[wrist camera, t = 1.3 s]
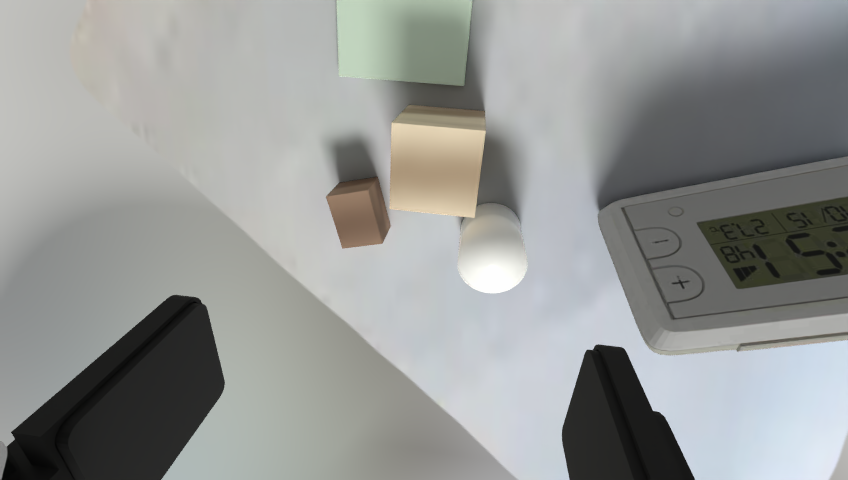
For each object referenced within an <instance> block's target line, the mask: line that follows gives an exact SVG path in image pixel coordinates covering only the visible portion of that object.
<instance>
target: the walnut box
mask: <svg viewBox="0 0 848 480" xmlns="http://www.w3.org/2000/svg"><path fill="white" fill-rule="evenodd" d="M326 198H327V201H328V204H329V207H330V211H331V214H332V217H333V220H334V223H335V226H336V229H337V233H338V236H339V239H340V242H341V245H342V248H351V247H359V246H367V245H375V244H382V243H383V241H384V239H385V237H386V235H387V233H388V231H389V229H390V222H389V218H388V214H387V210H386V207H385V203H384V199H383V195H382V191H381V187H380V183H379V179H378V177H373V178H366V179H360V180H354V181H348V182H341V183H339V184H338V185H337V186H336V187H335V188H334V189H333V190H332V191H331V192H330V193H329V194H328V195H327V196H326Z"/></svg>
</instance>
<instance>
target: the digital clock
mask: <svg viewBox="0 0 848 480" xmlns="http://www.w3.org/2000/svg"><path fill="white" fill-rule="evenodd" d="M598 223H599V227H600V230H601V232H602V235H603V238H604V240H605V243H606V245H607V248H608V251H609V253H610V256H611V259H612V261H613V264H614V266H615V269H616V272H617V274H618V277H619V280H620V282H621V285H622V287H623V290H624V293H625V295H626V298H627V300H628V303H629V306H630V308H631V311H632V314H633V316H634V319H635V321H636V324H637V326H638V329H639V331H640V333H641V336H642V338H643V339H644V341H645V343H646V345H647V346H648V347H649V349H650V350H652V351H653V352H654V353H657V354H660V355H683V354H694V353H704V352H714V351H724V350H737V352H739V351H748V350H758V349H767V348H777V347H786V346H796V345H805V344H814V343H824V342H833V341H843V340H848V156H847V157H841V158H835V159H829V160H824V161H818V162H813V163H807V164H802V165H797V166H792V167H786V168H781V169H776V170H771V171H766V172H760V173H755V174H750V175H745V176H739V177H734V178H729V179H724V180H718V181H713V182H708V183H703V184H697V185H692V186H687V187H682V188H677V189H671V190H666V191H661V192H656V193H651V194H645V195H640V196H636V197H631V198H626V199H622V200H618V201H615V202H613V203H611V204H609V205H608V206H606V207H605V208H603V209H602V210H600V211H599V213H598Z"/></svg>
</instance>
